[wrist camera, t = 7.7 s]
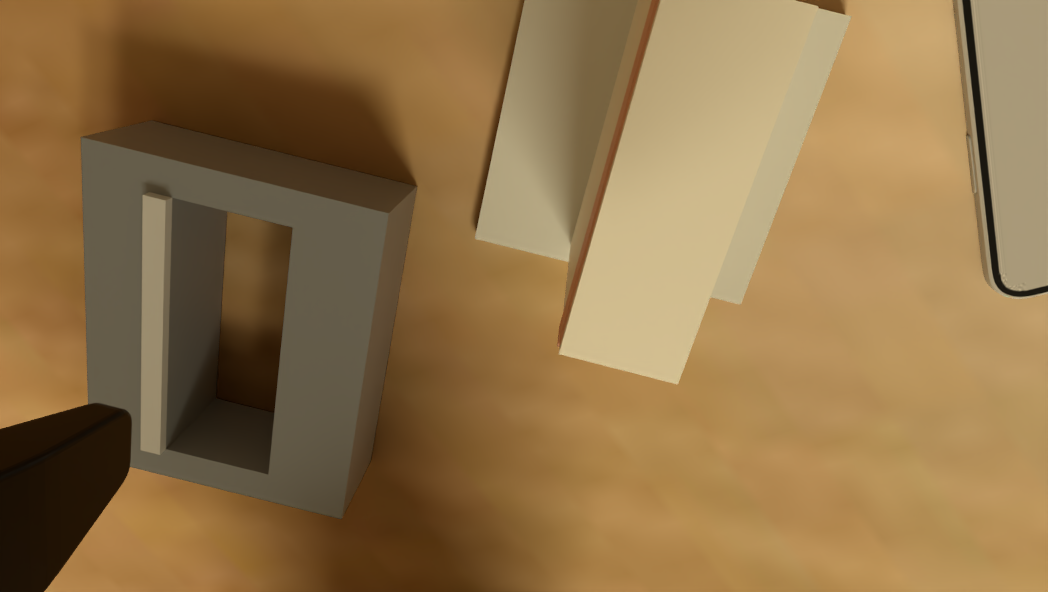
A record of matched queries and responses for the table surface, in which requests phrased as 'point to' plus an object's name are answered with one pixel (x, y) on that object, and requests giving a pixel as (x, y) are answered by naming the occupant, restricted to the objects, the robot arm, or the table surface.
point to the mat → (577, 120)
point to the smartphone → (1007, 137)
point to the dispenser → (196, 298)
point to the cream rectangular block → (674, 175)
